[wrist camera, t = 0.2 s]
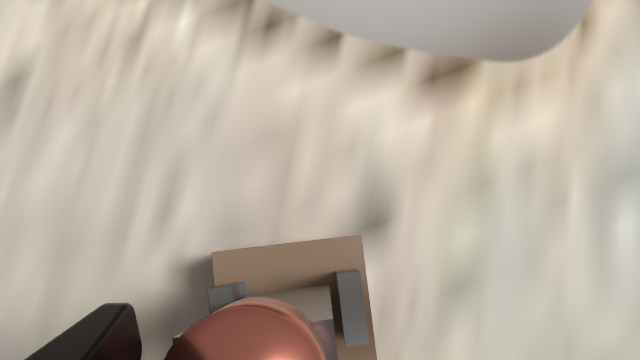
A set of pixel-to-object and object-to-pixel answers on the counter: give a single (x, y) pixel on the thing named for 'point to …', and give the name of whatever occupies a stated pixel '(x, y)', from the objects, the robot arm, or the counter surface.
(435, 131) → the counter surface
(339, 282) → the stand
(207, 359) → the nutcracker lever
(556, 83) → the counter surface
